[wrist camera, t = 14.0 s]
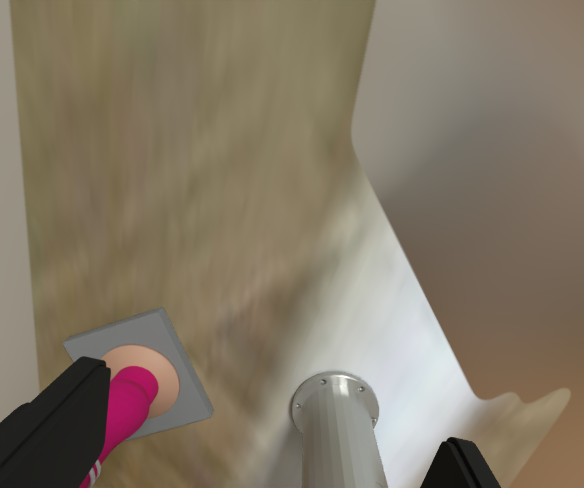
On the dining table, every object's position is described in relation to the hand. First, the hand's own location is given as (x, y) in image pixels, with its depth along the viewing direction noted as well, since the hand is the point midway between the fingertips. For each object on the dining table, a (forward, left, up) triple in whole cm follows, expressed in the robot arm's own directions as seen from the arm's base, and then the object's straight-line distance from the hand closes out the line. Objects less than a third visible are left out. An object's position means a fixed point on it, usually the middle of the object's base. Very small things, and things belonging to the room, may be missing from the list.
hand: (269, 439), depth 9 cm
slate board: (-14, +29, -32) cm, 46 cm away
